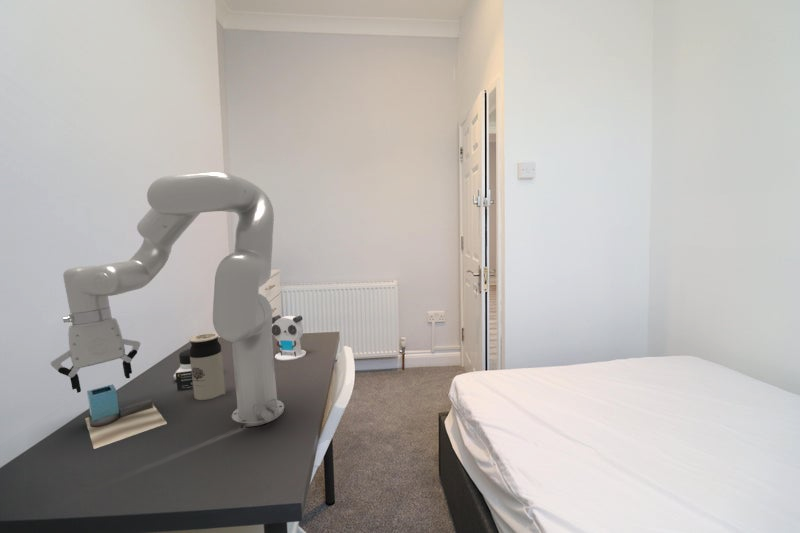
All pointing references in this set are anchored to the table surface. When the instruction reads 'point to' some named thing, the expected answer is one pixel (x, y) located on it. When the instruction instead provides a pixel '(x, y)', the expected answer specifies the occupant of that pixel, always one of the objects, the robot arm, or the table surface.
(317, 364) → the table surface
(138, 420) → the door lever plate
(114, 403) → the hollow square tube
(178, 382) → the medicine bottle
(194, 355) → the travel mug
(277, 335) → the panda figurine
